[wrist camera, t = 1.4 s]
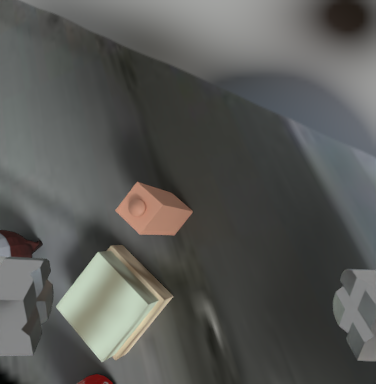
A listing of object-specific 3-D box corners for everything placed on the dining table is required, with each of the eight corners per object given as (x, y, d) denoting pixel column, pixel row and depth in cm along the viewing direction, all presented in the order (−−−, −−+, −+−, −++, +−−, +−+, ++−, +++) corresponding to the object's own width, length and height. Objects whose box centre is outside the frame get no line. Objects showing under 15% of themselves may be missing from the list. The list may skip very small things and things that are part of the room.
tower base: (173, 296, 46) (154, 304, 40) (127, 353, 47) (102, 368, 41) (122, 245, 49) (97, 245, 43) (80, 299, 50) (51, 306, 45)
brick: (193, 211, 46) (160, 204, 36) (174, 235, 47) (137, 234, 37) (171, 192, 48) (134, 180, 38) (153, 215, 48) (112, 210, 38)
